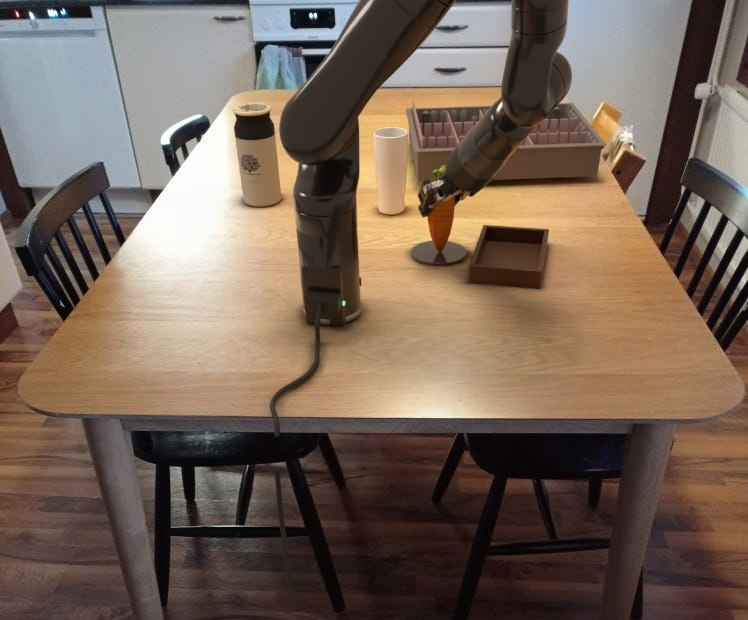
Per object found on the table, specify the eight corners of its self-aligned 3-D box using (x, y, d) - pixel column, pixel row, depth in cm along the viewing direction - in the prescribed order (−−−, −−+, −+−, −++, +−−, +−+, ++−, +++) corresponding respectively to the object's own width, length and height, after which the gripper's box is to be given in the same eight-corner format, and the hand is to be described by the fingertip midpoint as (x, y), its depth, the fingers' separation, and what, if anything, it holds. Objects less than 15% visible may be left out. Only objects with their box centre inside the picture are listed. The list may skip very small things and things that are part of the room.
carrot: (436, 244, 143) (438, 159, 134) (459, 250, 141) (462, 164, 131) (420, 253, 141) (421, 167, 131) (443, 259, 138) (445, 172, 128)
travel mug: (261, 191, 168) (250, 100, 156) (289, 198, 164) (280, 105, 152) (235, 202, 163) (222, 110, 151) (264, 210, 159) (253, 115, 148)
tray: (539, 288, 130) (541, 271, 128) (468, 282, 132) (469, 265, 130) (547, 245, 143) (549, 229, 141) (482, 240, 145) (483, 224, 143)
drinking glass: (404, 217, 155) (405, 138, 145) (371, 216, 156) (369, 136, 146) (410, 205, 159) (411, 127, 150) (378, 203, 161) (376, 126, 151)
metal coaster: (461, 268, 137) (461, 265, 136) (406, 263, 139) (406, 261, 138) (469, 245, 144) (469, 242, 144) (416, 241, 146) (416, 238, 146)
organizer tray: (600, 183, 166) (608, 134, 159) (414, 190, 166) (414, 141, 159) (568, 138, 190) (574, 93, 184) (405, 143, 190) (405, 99, 183)
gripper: (452, 187, 119) (408, 237, 135) (525, 168, 124) (475, 219, 140) (433, 142, 119) (392, 198, 135) (507, 125, 124) (459, 181, 140)
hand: (434, 208), depth 137 cm, fingers closed on carrot, 4 cm apart
